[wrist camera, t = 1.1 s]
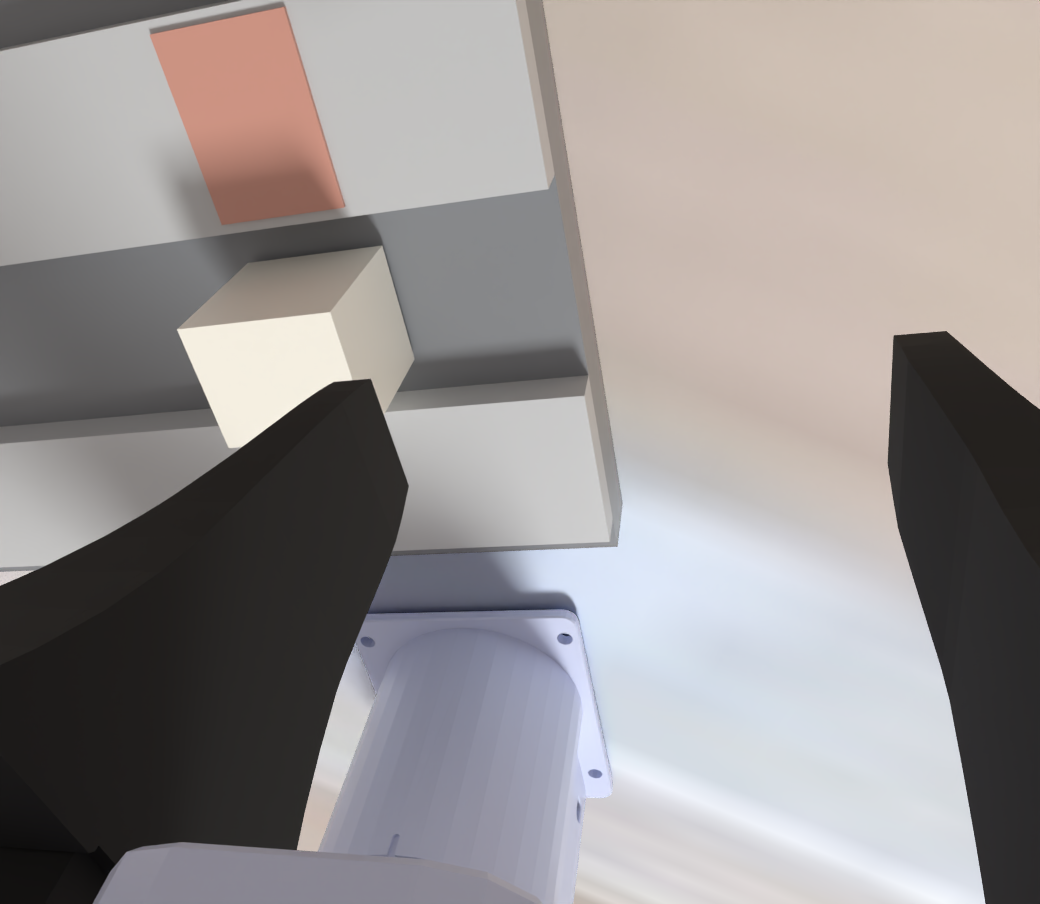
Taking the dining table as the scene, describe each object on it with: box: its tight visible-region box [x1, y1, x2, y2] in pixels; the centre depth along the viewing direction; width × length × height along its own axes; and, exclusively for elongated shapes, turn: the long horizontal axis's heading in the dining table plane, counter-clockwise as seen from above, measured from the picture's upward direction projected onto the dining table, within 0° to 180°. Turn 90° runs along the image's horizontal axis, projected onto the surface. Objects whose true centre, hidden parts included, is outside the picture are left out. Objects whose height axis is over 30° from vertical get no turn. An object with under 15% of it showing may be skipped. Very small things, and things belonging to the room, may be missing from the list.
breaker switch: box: [177, 246, 414, 448], centre depth 20 cm, size 3×4×4 cm
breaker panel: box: [0, 0, 622, 572], centre depth 24 cm, size 16×24×3 cm, turn 101°
